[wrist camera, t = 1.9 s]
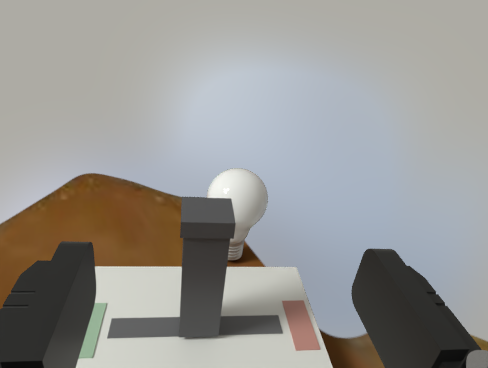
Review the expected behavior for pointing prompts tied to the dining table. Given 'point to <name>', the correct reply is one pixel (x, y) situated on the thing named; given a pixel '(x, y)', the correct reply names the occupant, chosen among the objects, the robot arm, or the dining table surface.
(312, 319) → the breaker panel
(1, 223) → the dining table surface
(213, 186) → the lightbulb
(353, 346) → the dining table surface
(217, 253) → the handle
